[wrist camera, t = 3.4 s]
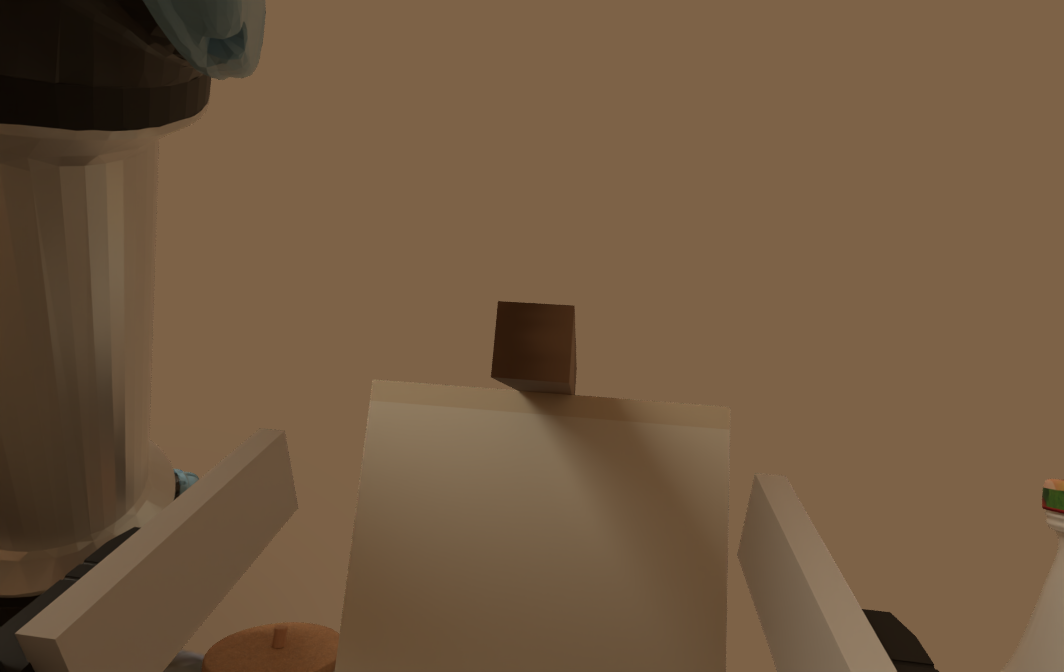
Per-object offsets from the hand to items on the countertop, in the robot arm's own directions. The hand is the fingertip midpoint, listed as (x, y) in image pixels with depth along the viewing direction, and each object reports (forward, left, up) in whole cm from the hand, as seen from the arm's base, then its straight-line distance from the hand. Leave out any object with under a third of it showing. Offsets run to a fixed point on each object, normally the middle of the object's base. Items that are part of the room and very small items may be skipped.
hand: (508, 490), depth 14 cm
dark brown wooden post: (0, +17, +3) cm, 17 cm away
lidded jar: (-22, +30, -27) cm, 46 cm away
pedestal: (0, +22, -27) cm, 34 cm away
